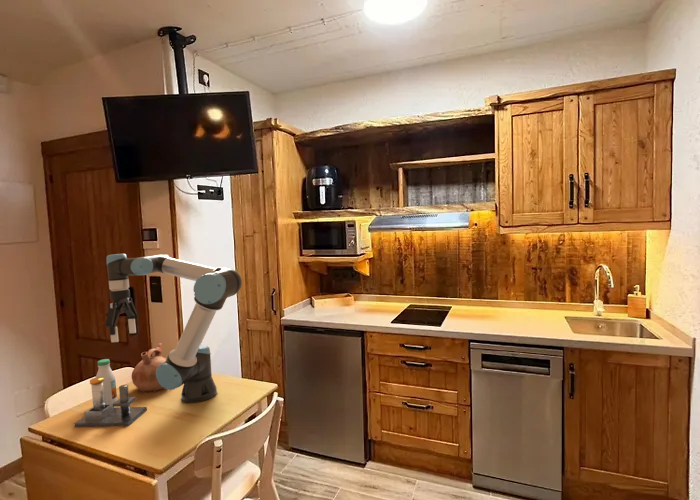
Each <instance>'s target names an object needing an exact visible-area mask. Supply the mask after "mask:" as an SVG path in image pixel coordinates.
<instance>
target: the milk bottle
mask: <svg viewBox="0 0 700 500" xmlns="http://www.w3.org/2000/svg"><path fill="white" fill-rule="evenodd" d="M110 364H111V360H110V359H109V358H104V359H100V360H98V361H97V368H98V370H97V372H96V375H95V378H96V377H104V381H103V388H104V400H105V404H113V403H115V402H116V401H117V400H118V394H117V384H116V383H117V382H116V375H115V372H113V370H112V368H111V365H110Z"/></svg>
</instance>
